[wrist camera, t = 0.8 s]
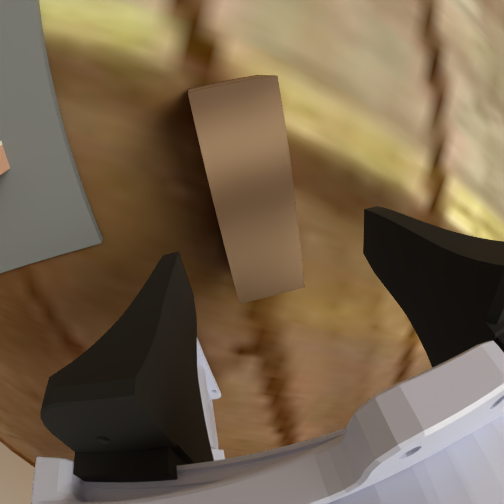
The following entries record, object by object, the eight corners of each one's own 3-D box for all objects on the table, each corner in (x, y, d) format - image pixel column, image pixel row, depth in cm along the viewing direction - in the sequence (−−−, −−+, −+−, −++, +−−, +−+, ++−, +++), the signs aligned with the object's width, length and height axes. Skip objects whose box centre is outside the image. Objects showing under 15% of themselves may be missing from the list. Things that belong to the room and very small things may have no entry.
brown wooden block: (283, 245, 23) (304, 287, 19) (229, 258, 23) (239, 304, 19) (255, 75, 17) (277, 75, 13) (188, 88, 17) (187, 92, 13)
